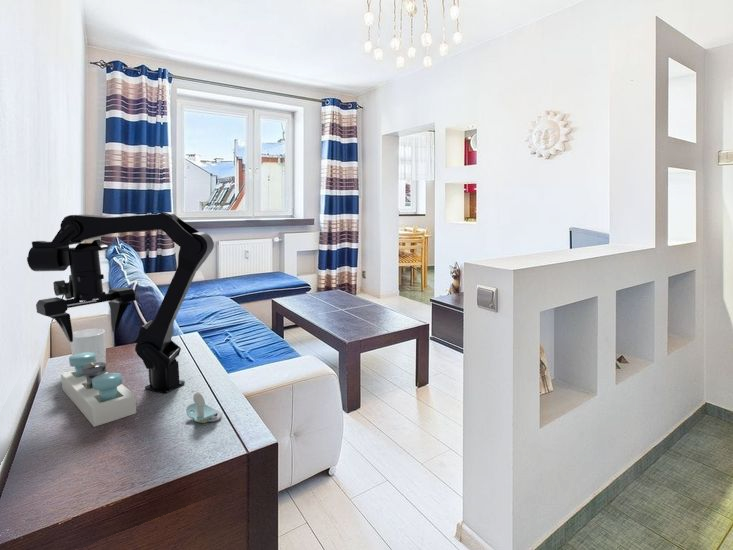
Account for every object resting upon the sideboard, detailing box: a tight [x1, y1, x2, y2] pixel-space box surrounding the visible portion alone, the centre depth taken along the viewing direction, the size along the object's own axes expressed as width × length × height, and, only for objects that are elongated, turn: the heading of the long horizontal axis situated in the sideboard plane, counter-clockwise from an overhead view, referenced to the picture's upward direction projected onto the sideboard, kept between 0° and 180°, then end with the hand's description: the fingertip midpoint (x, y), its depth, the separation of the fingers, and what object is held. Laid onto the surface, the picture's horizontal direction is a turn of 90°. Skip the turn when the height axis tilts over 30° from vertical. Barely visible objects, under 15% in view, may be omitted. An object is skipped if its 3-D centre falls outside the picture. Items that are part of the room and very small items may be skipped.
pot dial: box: [81, 362, 108, 389], centre depth 94 cm, size 5×5×5 cm
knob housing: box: [60, 369, 137, 428], centre depth 94 cm, size 25×8×4 cm, turn 47°
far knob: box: [68, 352, 96, 377], centre depth 100 cm, size 5×5×5 cm
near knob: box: [92, 372, 123, 402], centre depth 88 cm, size 5×5×5 cm
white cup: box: [69, 328, 107, 370], centre depth 112 cm, size 8×8×10 cm
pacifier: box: [185, 391, 223, 424], centre depth 87 cm, size 7×6×6 cm
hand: (93, 336), depth 98 cm, fingers open, 9 cm apart
